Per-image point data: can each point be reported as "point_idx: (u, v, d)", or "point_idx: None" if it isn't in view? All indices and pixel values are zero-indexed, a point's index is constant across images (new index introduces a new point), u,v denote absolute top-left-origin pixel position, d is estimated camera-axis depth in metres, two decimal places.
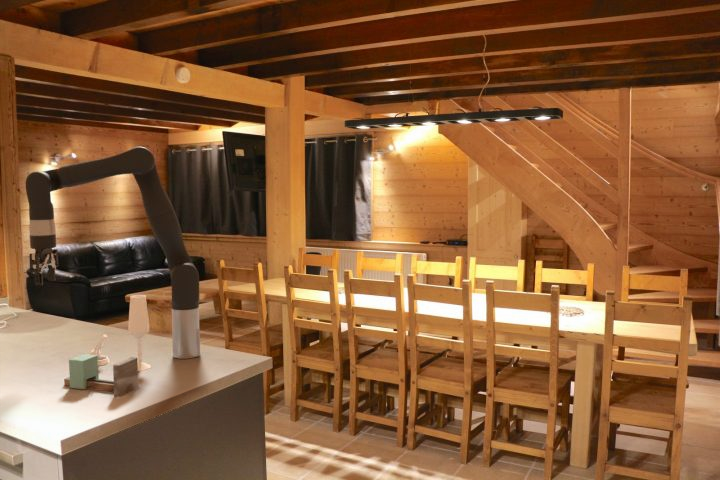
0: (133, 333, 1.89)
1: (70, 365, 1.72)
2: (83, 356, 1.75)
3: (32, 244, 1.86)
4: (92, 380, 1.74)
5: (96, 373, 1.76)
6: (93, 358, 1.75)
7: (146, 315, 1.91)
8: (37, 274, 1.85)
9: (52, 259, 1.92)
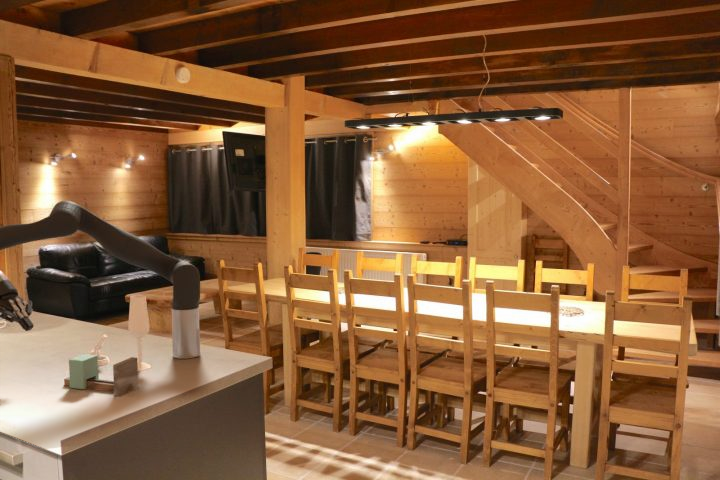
0: (133, 333, 1.89)
1: (70, 365, 1.72)
2: (83, 356, 1.75)
3: None
4: (92, 380, 1.74)
5: (96, 373, 1.76)
6: (93, 358, 1.75)
7: (146, 315, 1.91)
8: None
9: None
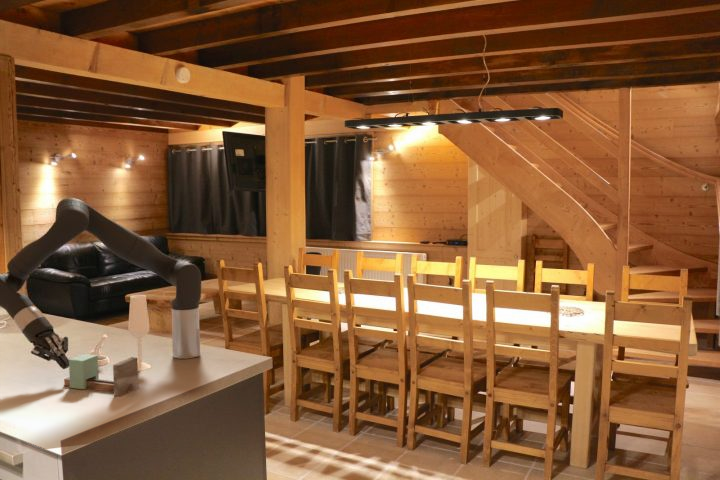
0: (133, 333, 1.89)
1: (70, 365, 1.72)
2: (83, 356, 1.75)
3: None
4: (92, 380, 1.74)
5: (96, 373, 1.76)
6: (93, 358, 1.75)
7: (146, 315, 1.91)
8: None
9: None
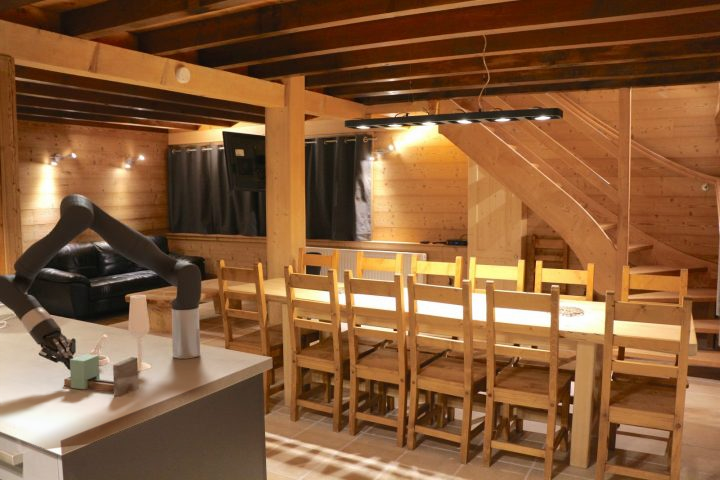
0: (133, 333, 1.89)
1: (72, 365, 1.72)
2: (84, 356, 1.75)
3: None
4: (92, 380, 1.74)
5: (97, 373, 1.76)
6: (94, 358, 1.75)
7: (146, 315, 1.91)
8: None
9: None
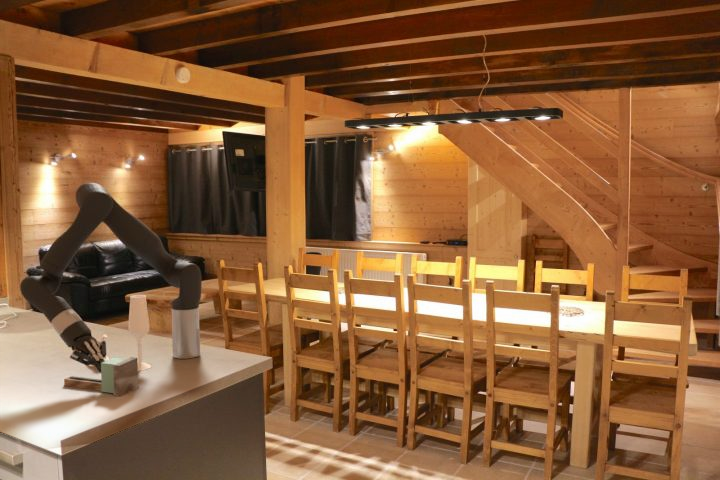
0: (133, 333, 1.89)
1: (103, 368, 1.69)
2: (115, 359, 1.72)
3: None
4: (92, 380, 1.74)
5: None
6: None
7: (146, 315, 1.91)
8: None
9: None
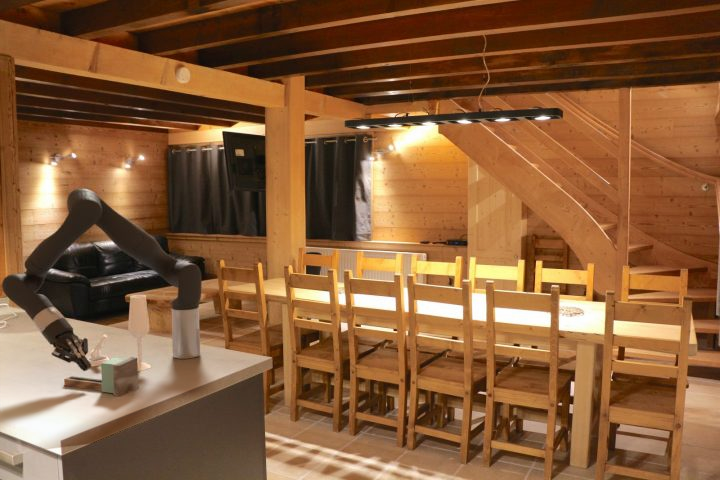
0: (133, 333, 1.89)
1: (103, 368, 1.69)
2: (115, 359, 1.72)
3: None
4: (92, 380, 1.74)
5: None
6: None
7: (146, 315, 1.91)
8: None
9: None
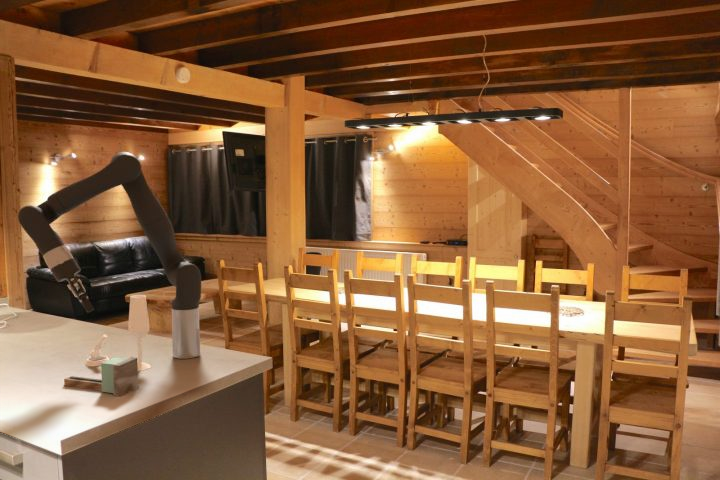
0: (133, 333, 1.89)
1: (103, 368, 1.69)
2: (115, 359, 1.72)
3: None
4: (92, 380, 1.74)
5: None
6: None
7: (146, 315, 1.91)
8: None
9: (71, 290, 1.81)
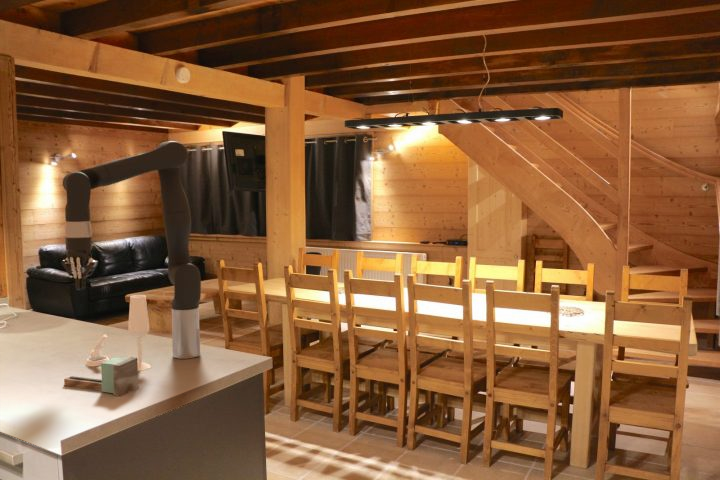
0: (133, 333, 1.89)
1: (103, 368, 1.69)
2: (115, 359, 1.72)
3: None
4: (92, 380, 1.74)
5: None
6: None
7: (146, 315, 1.91)
8: None
9: (77, 264, 1.83)
